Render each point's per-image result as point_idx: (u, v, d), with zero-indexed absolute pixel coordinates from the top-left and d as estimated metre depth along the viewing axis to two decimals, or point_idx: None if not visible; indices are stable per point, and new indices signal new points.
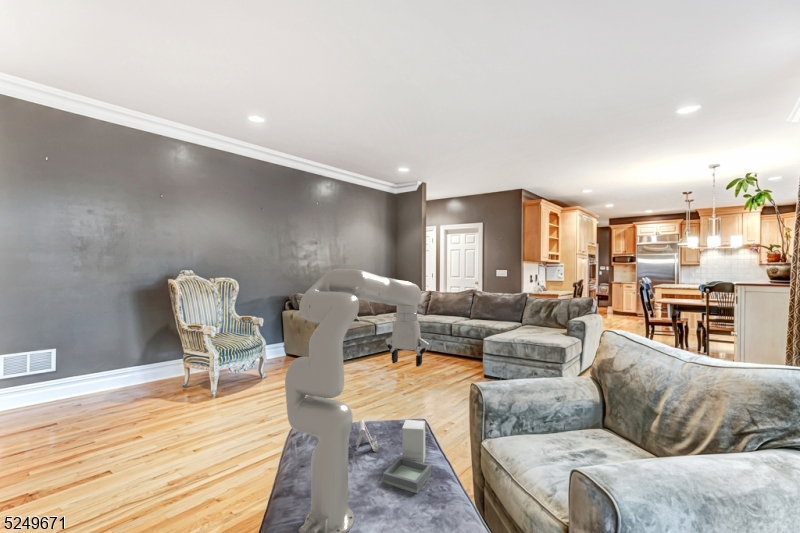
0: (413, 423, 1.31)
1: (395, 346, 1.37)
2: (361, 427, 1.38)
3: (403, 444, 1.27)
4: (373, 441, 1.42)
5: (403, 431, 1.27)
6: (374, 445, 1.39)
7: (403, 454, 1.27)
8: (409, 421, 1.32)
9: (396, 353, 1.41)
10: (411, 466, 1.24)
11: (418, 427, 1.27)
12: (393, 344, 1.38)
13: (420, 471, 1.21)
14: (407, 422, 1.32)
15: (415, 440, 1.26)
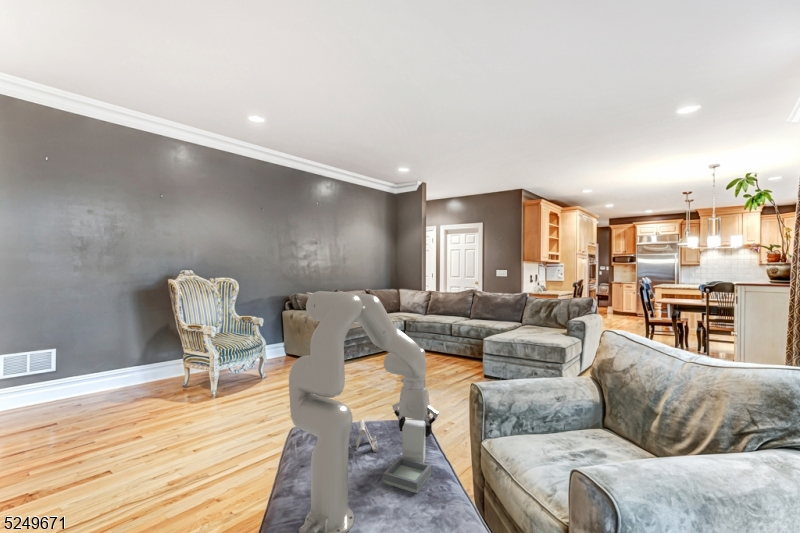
0: (413, 423, 1.31)
1: (403, 414, 1.30)
2: (361, 427, 1.38)
3: (403, 444, 1.27)
4: (373, 441, 1.42)
5: (403, 431, 1.27)
6: (374, 445, 1.39)
7: (403, 454, 1.27)
8: (409, 421, 1.32)
9: (404, 420, 1.33)
10: (411, 466, 1.24)
11: (418, 427, 1.27)
12: (400, 412, 1.30)
13: (420, 471, 1.21)
14: (407, 422, 1.32)
15: (415, 440, 1.26)
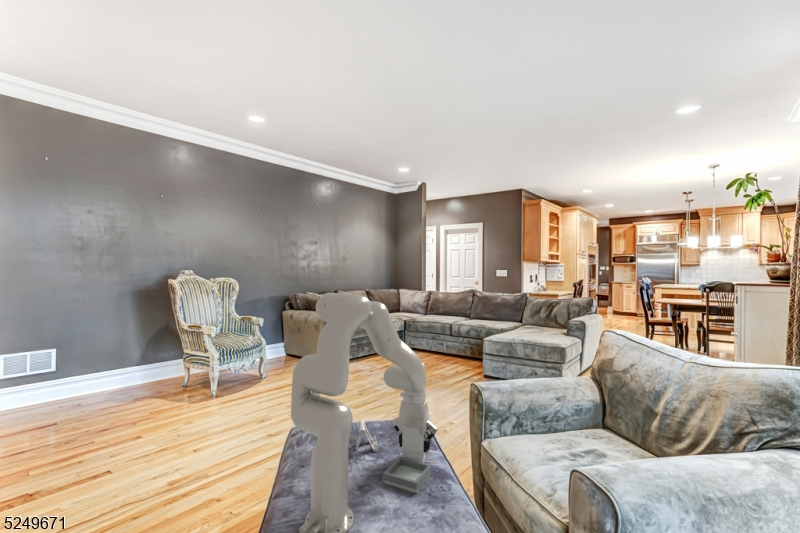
0: None
1: None
2: (361, 427, 1.38)
3: (402, 444, 1.27)
4: (373, 441, 1.42)
5: (403, 431, 1.27)
6: (374, 445, 1.39)
7: (403, 454, 1.27)
8: None
9: None
10: (411, 466, 1.24)
11: None
12: (400, 427, 1.30)
13: (420, 471, 1.21)
14: None
15: (415, 440, 1.26)
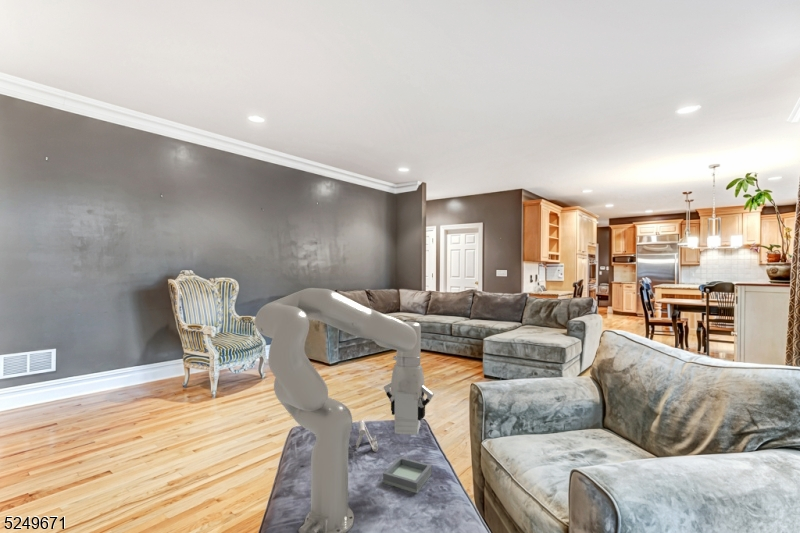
0: None
1: None
2: (361, 427, 1.38)
3: (395, 411, 1.16)
4: (373, 441, 1.42)
5: (395, 396, 1.16)
6: (374, 445, 1.39)
7: (395, 422, 1.16)
8: None
9: None
10: (411, 466, 1.24)
11: None
12: (392, 392, 1.19)
13: (420, 471, 1.21)
14: None
15: (409, 406, 1.15)
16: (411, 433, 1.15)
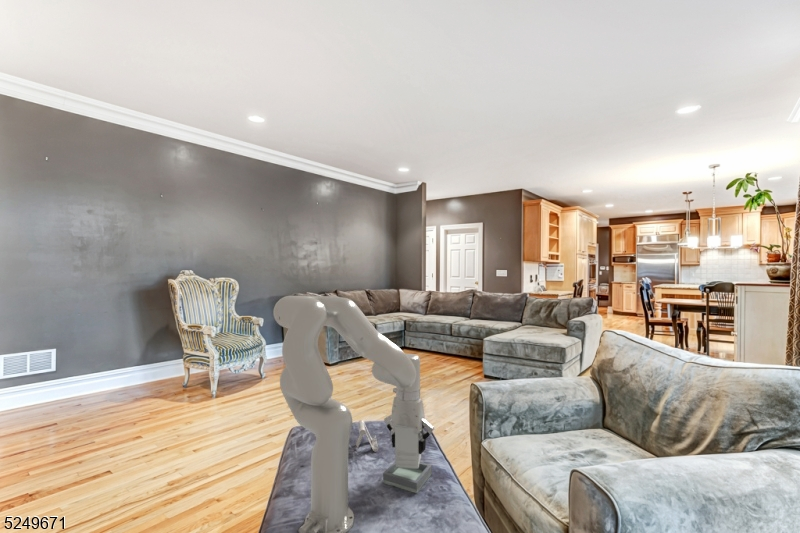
0: None
1: None
2: (361, 427, 1.38)
3: (395, 444, 1.16)
4: (373, 441, 1.42)
5: (396, 430, 1.16)
6: (374, 445, 1.39)
7: (396, 455, 1.16)
8: None
9: None
10: None
11: None
12: (392, 425, 1.19)
13: (420, 471, 1.21)
14: None
15: (409, 440, 1.15)
16: (412, 467, 1.15)
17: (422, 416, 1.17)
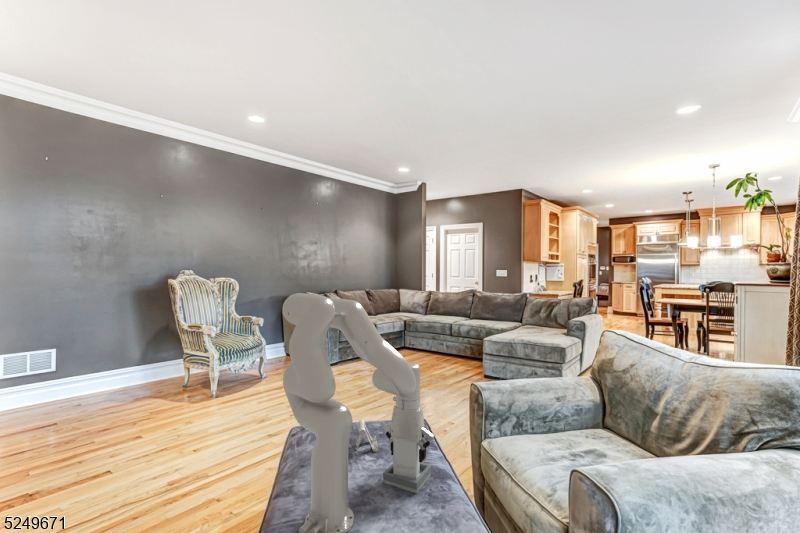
0: None
1: None
2: (361, 427, 1.38)
3: (394, 457, 1.16)
4: (373, 441, 1.42)
5: (394, 443, 1.16)
6: (374, 445, 1.39)
7: (394, 468, 1.16)
8: None
9: None
10: None
11: None
12: (392, 434, 1.19)
13: (420, 471, 1.21)
14: None
15: (407, 453, 1.15)
16: None
17: (422, 425, 1.17)
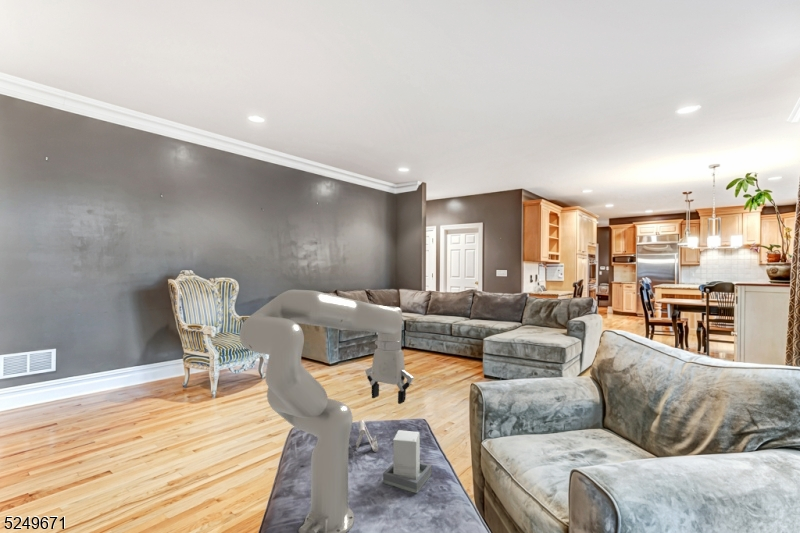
0: (405, 434, 1.20)
1: (375, 379, 1.19)
2: (361, 427, 1.38)
3: (394, 457, 1.16)
4: (373, 441, 1.42)
5: (394, 443, 1.16)
6: (374, 445, 1.39)
7: (394, 468, 1.16)
8: (402, 432, 1.21)
9: (377, 386, 1.22)
10: None
11: (411, 439, 1.16)
12: (373, 376, 1.19)
13: (420, 471, 1.21)
14: (399, 433, 1.20)
15: (407, 453, 1.15)
16: None
17: (402, 367, 1.17)
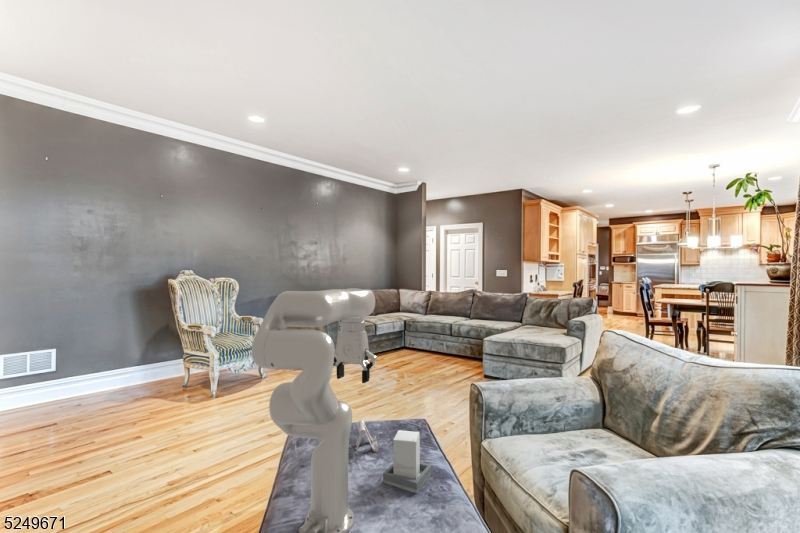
0: (405, 434, 1.20)
1: (339, 359, 1.21)
2: (361, 427, 1.38)
3: (394, 457, 1.16)
4: (373, 441, 1.42)
5: (394, 443, 1.16)
6: (374, 445, 1.39)
7: (394, 468, 1.16)
8: (402, 432, 1.21)
9: (342, 367, 1.24)
10: None
11: (411, 439, 1.16)
12: (337, 357, 1.21)
13: (420, 471, 1.21)
14: (399, 433, 1.20)
15: (407, 453, 1.15)
16: None
17: (365, 347, 1.19)
